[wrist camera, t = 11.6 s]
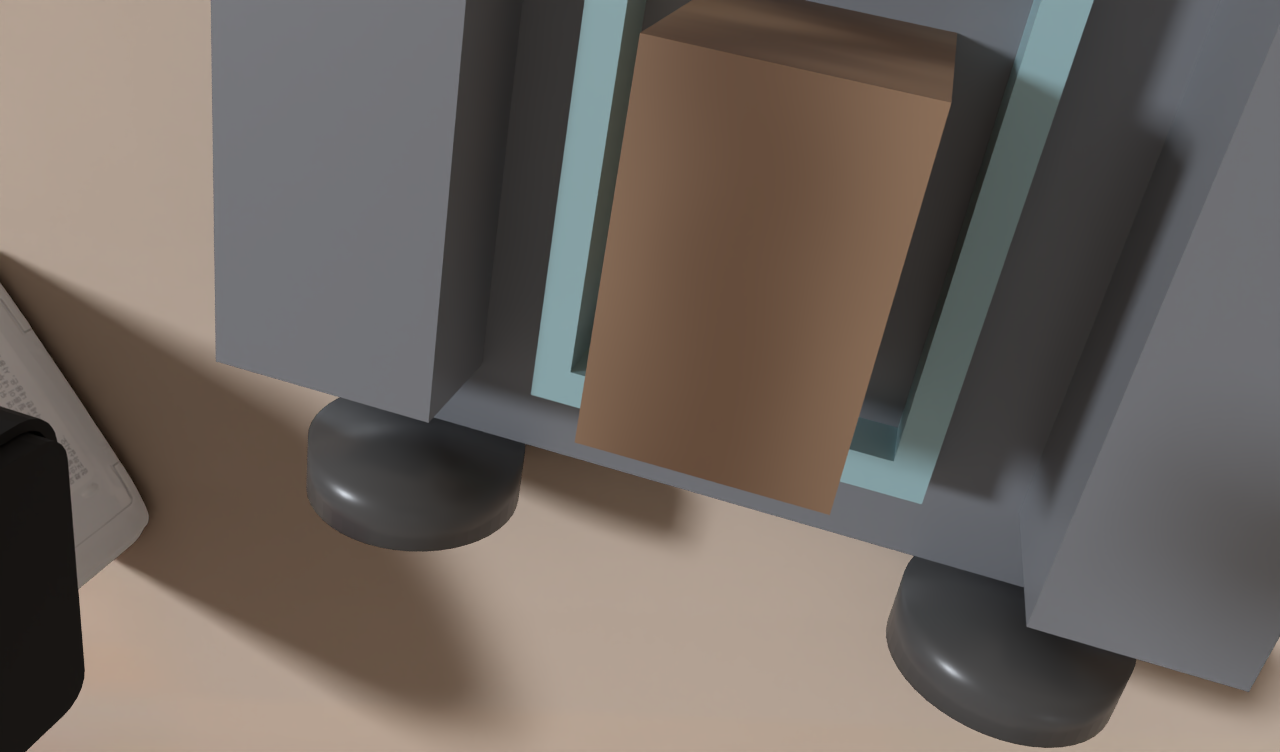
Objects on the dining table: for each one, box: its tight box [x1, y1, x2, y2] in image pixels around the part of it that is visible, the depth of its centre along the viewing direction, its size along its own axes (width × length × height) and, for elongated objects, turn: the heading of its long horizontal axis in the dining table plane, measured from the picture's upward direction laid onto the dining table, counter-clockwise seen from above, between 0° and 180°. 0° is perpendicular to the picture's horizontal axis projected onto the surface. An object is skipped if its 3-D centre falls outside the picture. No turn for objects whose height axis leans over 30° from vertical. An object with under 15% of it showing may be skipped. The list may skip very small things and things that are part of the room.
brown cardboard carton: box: [575, 0, 957, 515], centre depth 20 cm, size 4×7×6 cm, turn 170°
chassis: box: [211, 0, 1280, 748], centre depth 22 cm, size 22×18×6 cm
